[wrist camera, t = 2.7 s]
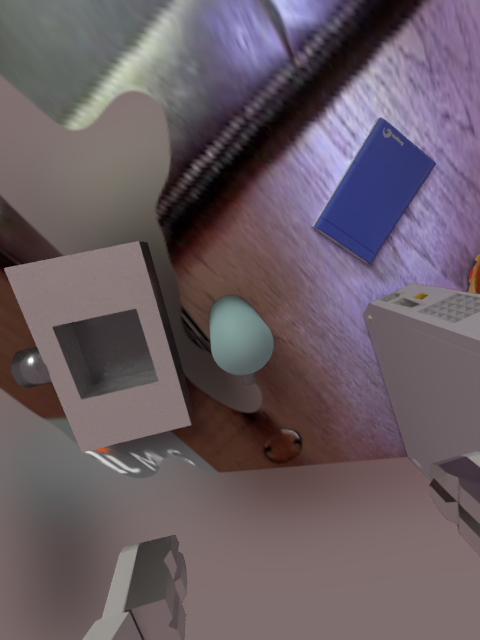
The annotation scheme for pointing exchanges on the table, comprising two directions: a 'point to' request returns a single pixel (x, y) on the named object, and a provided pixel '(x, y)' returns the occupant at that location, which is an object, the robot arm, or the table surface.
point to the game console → (430, 368)
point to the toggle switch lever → (239, 337)
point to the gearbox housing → (102, 344)
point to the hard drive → (374, 191)
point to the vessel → (475, 277)
